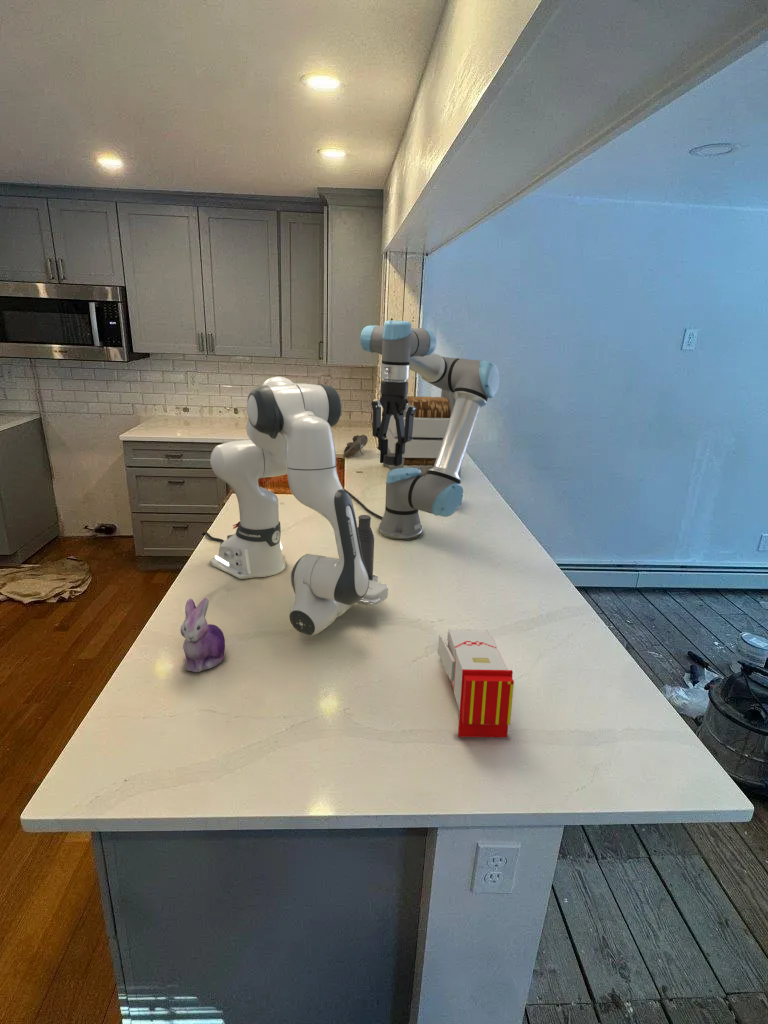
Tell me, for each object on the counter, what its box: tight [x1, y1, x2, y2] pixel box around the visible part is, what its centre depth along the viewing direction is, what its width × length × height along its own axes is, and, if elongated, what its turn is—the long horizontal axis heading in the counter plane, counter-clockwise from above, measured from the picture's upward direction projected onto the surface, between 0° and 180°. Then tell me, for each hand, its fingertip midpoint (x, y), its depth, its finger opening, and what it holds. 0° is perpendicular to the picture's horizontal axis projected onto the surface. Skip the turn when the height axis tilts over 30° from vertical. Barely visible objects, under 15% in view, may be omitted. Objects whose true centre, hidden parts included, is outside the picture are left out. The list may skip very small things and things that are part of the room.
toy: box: [437, 628, 515, 738], centre depth 117 cm, size 12×13×30 cm
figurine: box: [180, 597, 226, 673], centre depth 122 cm, size 9×10×15 cm
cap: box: [382, 453, 395, 465], centre depth 162 cm, size 4×4×2 cm
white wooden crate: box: [382, 389, 462, 479], centre depth 268 cm, size 34×33×41 cm
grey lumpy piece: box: [343, 434, 369, 459], centre depth 304 cm, size 22×10×15 cm
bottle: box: [357, 514, 375, 580], centre depth 152 cm, size 6×6×23 cm
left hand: (364, 574), depth 154 cm, fingers closed on bottle, 5 cm apart
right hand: (390, 463), depth 162 cm, fingers closed on cap, 4 cm apart
